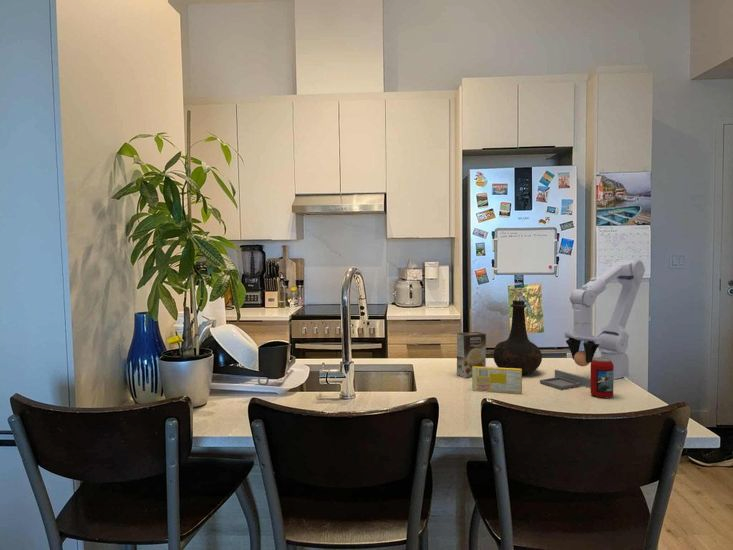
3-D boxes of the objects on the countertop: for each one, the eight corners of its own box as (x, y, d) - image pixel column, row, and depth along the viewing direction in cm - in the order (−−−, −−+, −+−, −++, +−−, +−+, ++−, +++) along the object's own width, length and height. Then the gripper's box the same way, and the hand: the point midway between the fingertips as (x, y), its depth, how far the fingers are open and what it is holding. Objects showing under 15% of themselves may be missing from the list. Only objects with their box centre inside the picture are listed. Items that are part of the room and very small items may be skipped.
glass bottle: (488, 367, 208) (487, 298, 207) (532, 366, 209) (532, 297, 208) (501, 379, 191) (501, 303, 189) (549, 377, 191) (549, 302, 190)
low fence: (556, 377, 191) (556, 369, 191) (592, 387, 177) (592, 379, 177) (554, 378, 191) (554, 369, 191) (590, 388, 176) (590, 379, 176)
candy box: (522, 393, 173) (522, 368, 172) (521, 394, 171) (521, 369, 170) (472, 389, 178) (472, 365, 178) (472, 391, 176) (471, 366, 176)
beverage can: (603, 400, 163) (604, 362, 162) (585, 394, 169) (585, 358, 168) (618, 396, 166) (618, 359, 165) (599, 391, 172) (600, 355, 171)
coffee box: (464, 378, 192) (464, 335, 191) (456, 374, 198) (456, 332, 197) (486, 376, 195) (486, 333, 194) (477, 372, 201) (477, 331, 200)
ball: (581, 363, 189) (581, 348, 189) (594, 366, 184) (594, 351, 184) (570, 365, 187) (570, 350, 186) (582, 368, 182) (582, 353, 182)
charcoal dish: (558, 380, 188) (558, 376, 188) (581, 386, 179) (581, 383, 179) (539, 383, 184) (539, 380, 184) (561, 390, 175) (561, 386, 175)
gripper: (558, 321, 189) (558, 358, 190) (591, 326, 176) (590, 366, 177) (572, 319, 192) (572, 356, 193) (605, 324, 179) (605, 363, 180)
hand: (582, 360), depth 185 cm, fingers closed on ball, 5 cm apart
